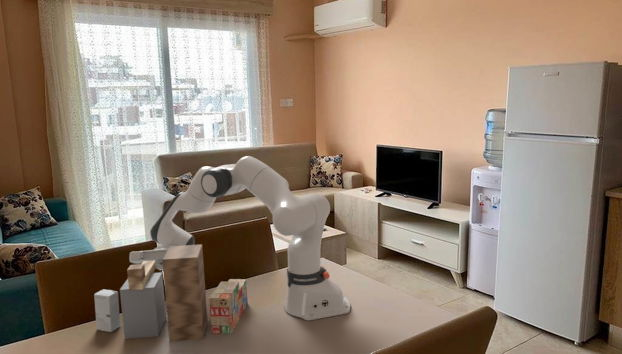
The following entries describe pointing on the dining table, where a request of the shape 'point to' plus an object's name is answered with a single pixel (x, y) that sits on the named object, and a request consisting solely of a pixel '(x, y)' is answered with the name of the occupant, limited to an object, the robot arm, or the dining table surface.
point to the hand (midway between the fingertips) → (154, 252)
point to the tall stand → (185, 292)
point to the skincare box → (107, 310)
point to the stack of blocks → (227, 305)
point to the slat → (140, 274)
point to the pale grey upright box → (143, 308)
